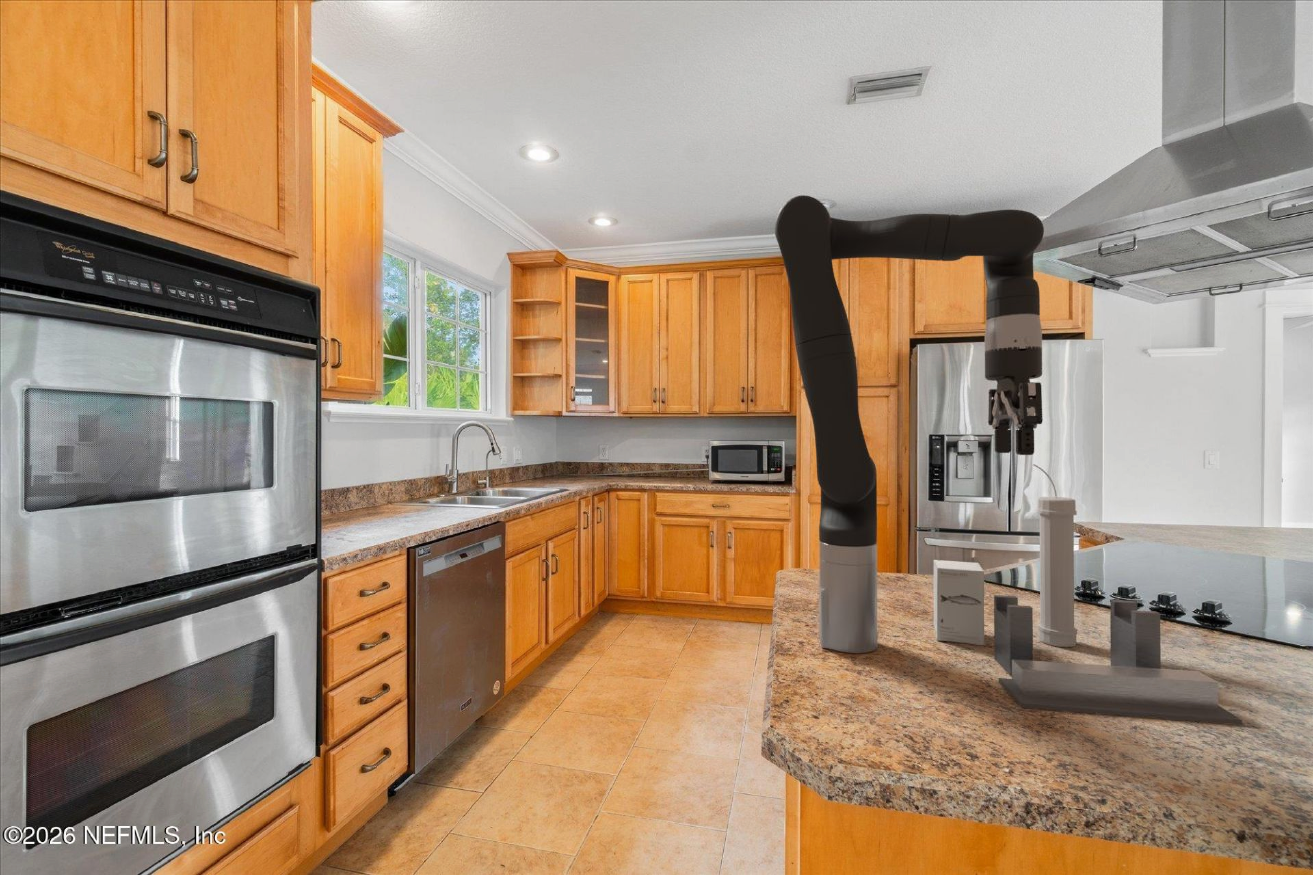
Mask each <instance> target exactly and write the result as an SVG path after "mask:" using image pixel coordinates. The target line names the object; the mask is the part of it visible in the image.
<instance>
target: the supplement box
mask: <svg viewBox="0 0 1313 875" xmlns="http://www.w3.org/2000/svg"><path fill="white" fill-rule="evenodd" d="M980 564H981V563H979V562H971V561H970V562H969V561H957V560H954V561H953V560H943V559H942V560H940V559H933V629H934V635H935V638H936V641H937V642H939V641H942V642H943V641H945V642H953V643H961V644H962V643H963V644H970V645H976V646H981V647H982V646H985V570H984V569H983V567H982V566H981V565H980Z"/></svg>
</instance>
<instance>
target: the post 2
mask: <svg viewBox="0 0 1313 875" xmlns="http://www.w3.org/2000/svg"><path fill="white" fill-rule="evenodd" d="M1109 610H1110V613H1109V614H1110V616H1109V617H1110V618H1109V619H1110V625H1109V626H1110V629H1109V630H1110V631H1109V632H1110V666H1125V667H1141V668H1156V669H1162V668H1161V666H1162V664H1161V661H1162V660H1161V649H1162V648H1161V613H1160V612H1157V611H1155V610H1154V611H1153V610H1152V611H1151V610H1138V602H1136V601H1134V600H1117V599H1110V609H1109Z"/></svg>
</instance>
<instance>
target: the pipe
mask: <svg viewBox="0 0 1313 875" xmlns="http://www.w3.org/2000/svg"><path fill="white" fill-rule="evenodd" d="M1032 466H1034V467H1035V468H1037V469H1039V470H1040V471H1041V472H1043V473H1044V474H1045V475H1046V477H1047V478H1048V479H1049V481H1050V483H1051V484H1052V487H1053V490H1054V495H1055V496H1041V497H1038V498H1037V508H1036V513H1038V514H1039V593H1040V594H1039V602H1040V603H1039V607H1040V608H1039V612H1040V613H1039V617H1040V618H1039V619H1040V621H1039V622H1038V623H1037V625H1036V626H1037V627H1036V628H1037V629H1038V633H1037V634H1038V639H1039V641H1040V642H1041V643H1044V644H1046V645H1050V646H1053V647H1057V648H1058V647H1059V648H1072V647H1075V646H1076V645H1077V634H1078V629H1077V628H1076V627H1075V557H1074V556H1075V552H1074V551H1075V550H1074V549H1075V542H1074V540H1075V538H1074V537H1075V534H1074V531H1075V530H1074V529H1075V526H1074V524H1075V522H1074V520H1075V518H1074V516H1077V510H1076V509H1077V508H1076V499H1074V498H1071V497H1062V496H1058V495H1057V490H1056V486H1055V484H1054V481H1053V480H1052V478H1051V476H1049V474H1048V472H1046V471H1045V470H1044V469H1042V468H1041V467H1039V466H1038V465H1037V464H1034V463H1033V464H1032Z"/></svg>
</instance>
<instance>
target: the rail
mask: <svg viewBox="0 0 1313 875" xmlns="http://www.w3.org/2000/svg"><path fill="white" fill-rule="evenodd" d="M1011 679H1012V685H1013V686H1014V687H1015V688H1016V690H1017V691H1018V692H1019V693H1020V694H1021V695H1022V696H1031V697H1044V698H1058V699H1071V700H1085V701H1098V702H1112V703H1126V704H1139V705H1153V706H1166V707H1180V708H1193V709H1207V710H1218V705H1219V682H1218V681H1217V680H1215V679H1213V678H1211V677H1210V676H1208V675H1206V674H1205V673H1202V672H1201V671H1199V670H1187V669H1186V670H1184V669H1170V668H1169V669H1167V668H1161V669H1156V668H1141V667H1125V666H1111V665H1110V664H1109V665H1107V664H1091V663H1089V664H1088V663H1076V662H1075V663H1074V662H1062V661H1061V662H1059V661H1058V662H1057V661H1056V662H1055V661H1043V660H1033V661H1029V660H1013V659H1012V676H1011Z"/></svg>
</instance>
